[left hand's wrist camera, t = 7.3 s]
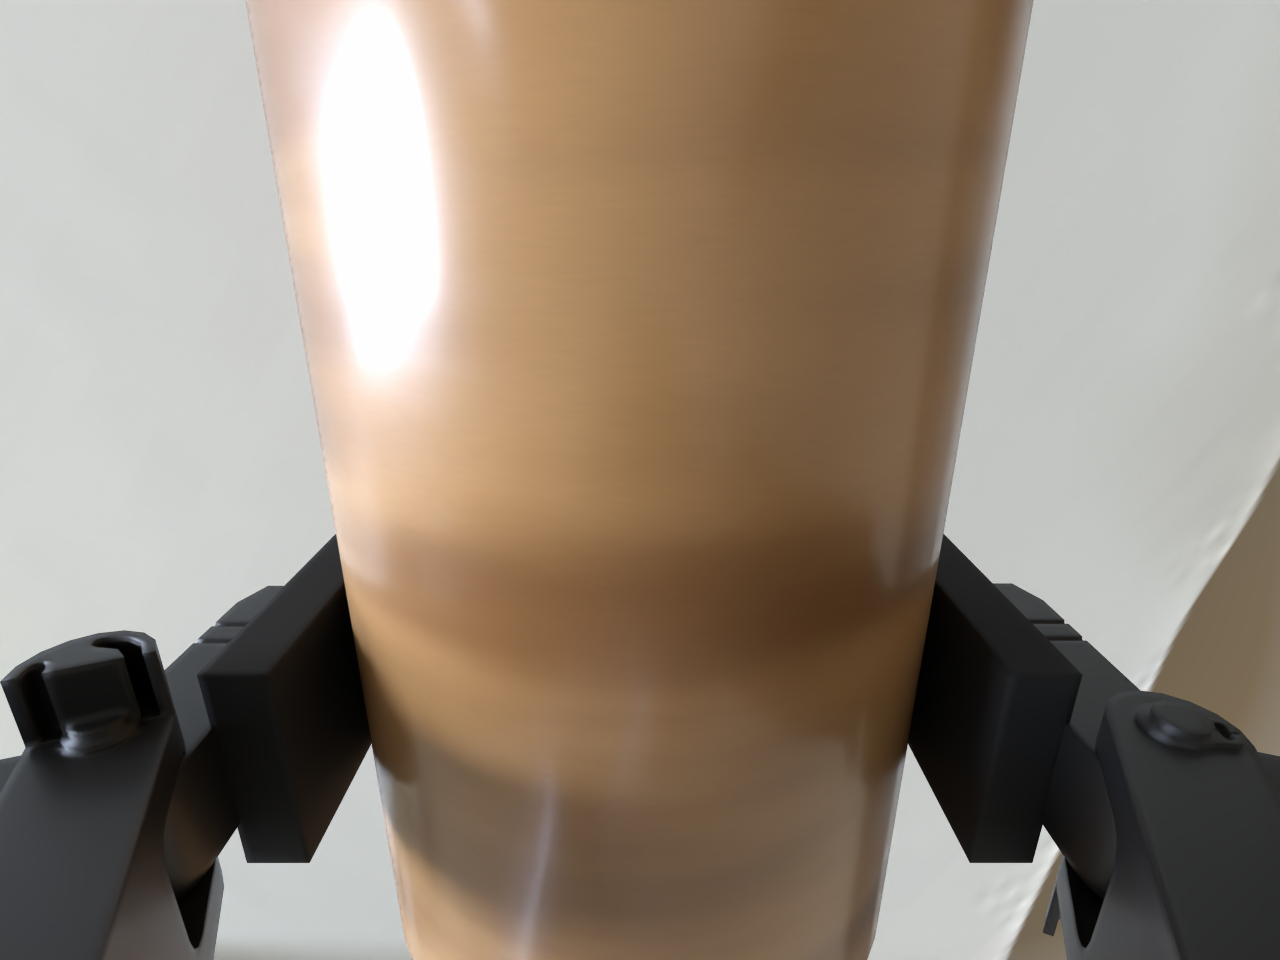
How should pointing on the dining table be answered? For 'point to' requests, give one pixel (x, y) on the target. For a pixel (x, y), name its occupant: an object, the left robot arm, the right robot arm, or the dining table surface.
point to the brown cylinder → (639, 438)
